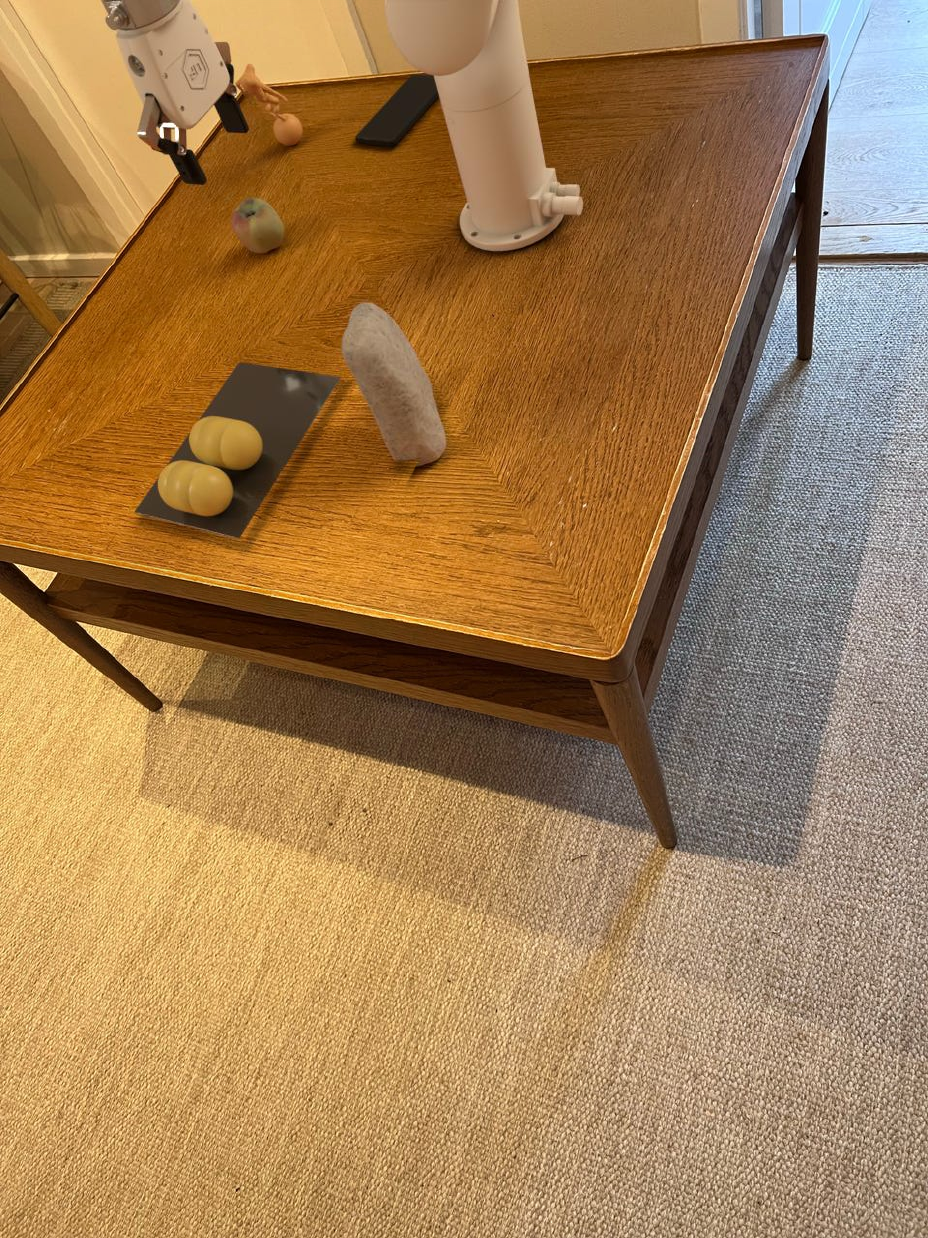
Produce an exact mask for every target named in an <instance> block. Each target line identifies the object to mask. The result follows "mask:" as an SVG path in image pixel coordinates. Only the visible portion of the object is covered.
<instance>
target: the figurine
mask: <svg viewBox="0 0 928 1238" xmlns="http://www.w3.org/2000/svg"><path fill="white" fill-rule="evenodd" d="M234 83H235V84H234V85H235V86H236V88H237V90H239V91H241V94H242V95H243V96H244V97H245V98H246V96H248V95H251V96H253V98H254V99H255V100H256V101H258V102H259V103H264V104H266V105H265V111H266V112H267V115H268V116H269V117H271V118H273V119H274V120H275V121H274V123H273V134H274V137H275V138H276V140H277V141H278V142H279V143H280V144H282V145H284V146H288V147H290V146H295V145H296V144H298V143H299V142H300V140H301V139H302V137H303V125H302V123H301V121H300V119H299V117H297V116H295V114H293V113H288V112H286V113H281V114H280V113H279V112H280V99H279V98H281V99H282V100H283V101H285V102H286V103H287V104H289V103H290V101H289V99H288V98H286V96H285V95H283V94H281V93H280V92H278V91H276V90H274V89H272V88H271V87H269V86H268V85H267V84H265V83H264V82H261V80H260V78H259V77H258V76H257V75H256V69H255V67H254V65H253V64H251V63H247V65H246V67H245V70H244V72H243V74H242V75H241V76H240V78H239V79H237V81H235V82H234ZM264 91H267V92H264ZM268 92H269V93H268ZM271 105H275V106H274V108H273V112H271V111H272V107H271Z"/></svg>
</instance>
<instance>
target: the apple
mask: <svg viewBox="0 0 928 1238" xmlns="http://www.w3.org/2000/svg"><path fill="white" fill-rule="evenodd" d="M230 224H231V228H232V230H233V232H234V234H235V236H236V237H237V239H238V241H239V242H240V243H241V244H242V246H244V247H245V248H246V249H247V250H248V251H249V252H251V253H254V254H267V253H268V252H270V251H272V250H274V249H278V248H279V247H281V245H282V244H283V242H284V237H285V226H284V225H285V224H284V223H283V221H282V220H281V217H280V216H279V214H278V212H277V211H276V210H275V209H274V208H273V206H271V204H270V203H268V202H267V201H266V200H264V199H262V198H258V197H248V198H246V199H244V200H243V201H241V203H239V204H238V205H237V207H236V208H235V209H234V211H233V212H232V214H231V217H230Z"/></svg>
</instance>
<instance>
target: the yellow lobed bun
mask: <svg viewBox="0 0 928 1238" xmlns="http://www.w3.org/2000/svg"><path fill="white" fill-rule="evenodd" d="M198 420H199V419H198ZM198 420H197V421H196V422H195V424H194V425H193V426H192V428H191V429H190V431H189V433H190V436H189V443H190V447H191V450H192V452H193V453H194V455H195V456H196V457H197V458H198V459H199V460H201V461H202V462H204V463H206V464H209V465H213V466H218V467H222V468H227V469H232V470H245V469H248V468H250V467H252V466H253V465H254V464H255V463H256V462H257V461H258V460H259V458H260V456H261V453H262V439H261V437H260V435H259V433H258V431H257V430H256V429H255V428H254V427H253V426H252V425H250V424H249V423H246V422H244V421H240V420H235V419H229V418H224V417H218V416H209V417H205V418H203V419H201V420H199V421H198Z"/></svg>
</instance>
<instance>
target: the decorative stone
mask: <svg viewBox="0 0 928 1238" xmlns="http://www.w3.org/2000/svg"><path fill="white" fill-rule="evenodd" d="M341 355H342V358H343V360H344V362H345V364H346V366H347V367H348V369H349V370H350V372H351V374H352V376H353V378H354V381H355V383H356V385H357V387H358V389H359V391H360V393H361V395H362V396H363V398H364V400H365V402H366V403H367V405H368V407H369V409H370V411H371V413H372V415H373V417H374V420H375V422H376V424H377V426H378V429H379V432H380V434H381V436H382V439H383V442H384V443H385V446H386V448H387V450H388V452H389V453H390V455H391V457H392V459H393V460H394V461H396V462H397V461H398V462H399V461H408V460H416V459H419V460H418V461H417V463H416V465H415V468H417V467H420V466H424V465H427V464H431V463H433V462H435V461H437V460H438V459H440V457H441V456H442V455H443V454H444V452H445V451H446V449H447V437H446V432H445V428H444V425H443V423H442V421H441V417H440V414H439V411H438V407H437V403H436V401H435V397H434V391H433V386H432V383H431V380H430V377H429V375H427V373H426V371H425V369H424V367H423V365H422V364H421V362H420V360H419V357H418V356H417V353H416V351H415V350H414V348H413V346H412V344H411V342H410V341H409V339H408V338H407V337H406V334H405V333H404V332H403V331H402V329H401V328H400V326H399V324H398V323H397V322H396V321H395V319H394V318H393V317H392V316H391V315H390V314H389V313H387V312H386V311H385V310H384V309H382V308H381V307H379V306H378V305H376V304H375V303H373V302H361V303H359V304H357V305H355V306H354V307H353V308H352V310H351V313H350V315H349V319H348V323H347V327H346V329H345V330H344V333H343V335H342V340H341Z"/></svg>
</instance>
